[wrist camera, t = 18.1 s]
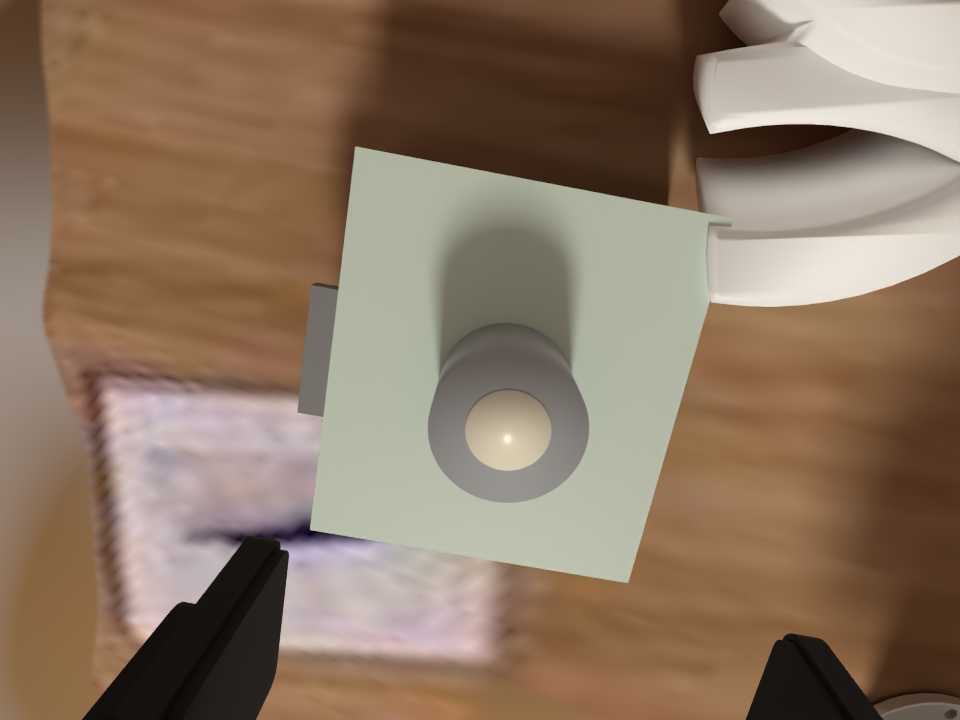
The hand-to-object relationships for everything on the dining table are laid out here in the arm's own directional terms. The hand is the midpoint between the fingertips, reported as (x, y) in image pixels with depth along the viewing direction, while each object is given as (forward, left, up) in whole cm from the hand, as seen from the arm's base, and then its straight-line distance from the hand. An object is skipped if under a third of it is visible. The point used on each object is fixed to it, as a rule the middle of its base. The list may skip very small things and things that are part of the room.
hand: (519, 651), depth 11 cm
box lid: (0, +1, -17) cm, 17 cm away
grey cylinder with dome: (0, 0, -16) cm, 16 cm away
